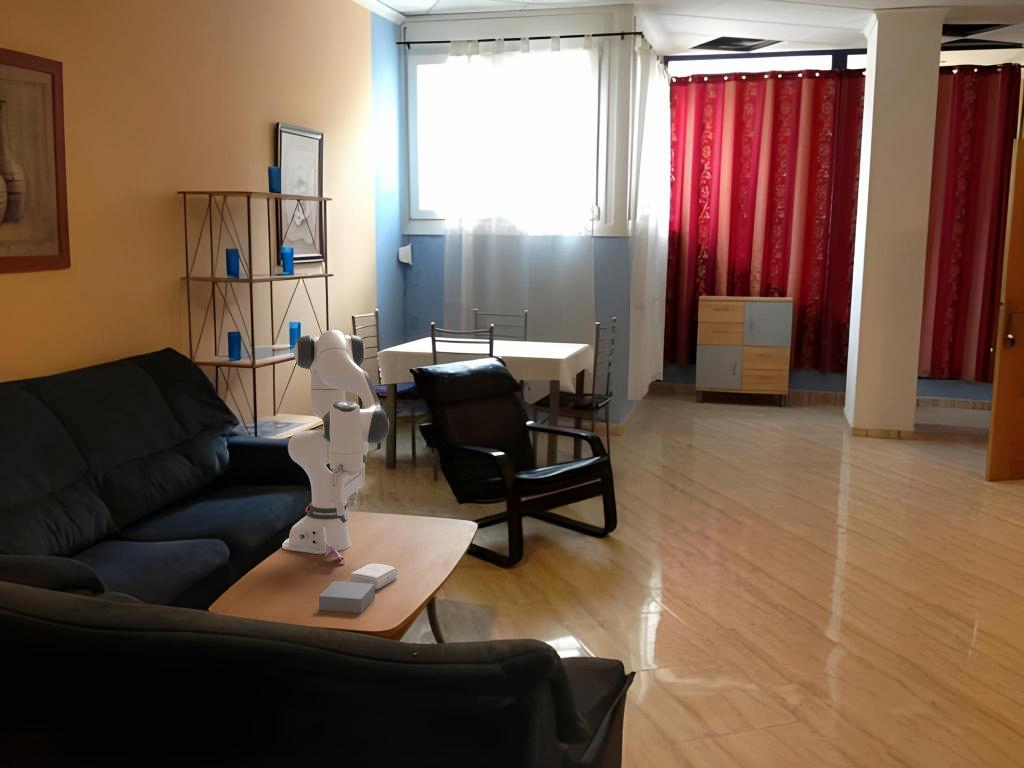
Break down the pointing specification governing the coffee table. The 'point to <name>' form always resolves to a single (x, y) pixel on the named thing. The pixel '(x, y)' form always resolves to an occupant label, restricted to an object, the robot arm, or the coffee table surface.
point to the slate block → (347, 597)
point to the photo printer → (374, 575)
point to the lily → (331, 551)
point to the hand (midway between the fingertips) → (346, 510)
